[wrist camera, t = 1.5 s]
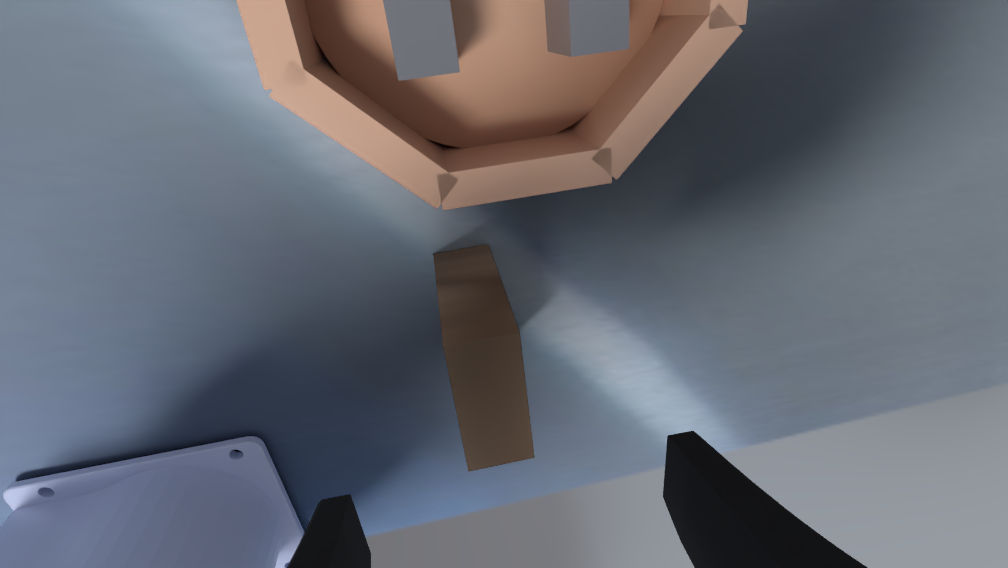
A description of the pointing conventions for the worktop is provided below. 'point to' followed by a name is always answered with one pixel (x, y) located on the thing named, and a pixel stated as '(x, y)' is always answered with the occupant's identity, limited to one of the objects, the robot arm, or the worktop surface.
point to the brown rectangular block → (483, 358)
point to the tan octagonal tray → (489, 84)
